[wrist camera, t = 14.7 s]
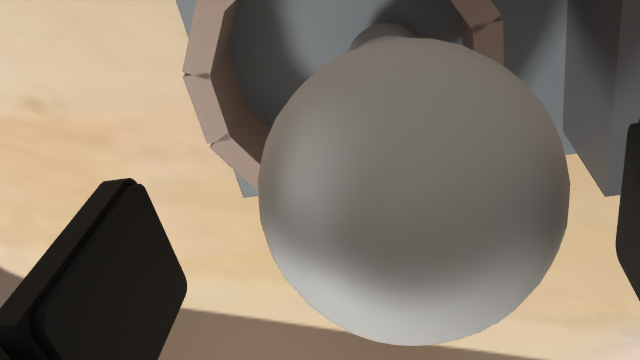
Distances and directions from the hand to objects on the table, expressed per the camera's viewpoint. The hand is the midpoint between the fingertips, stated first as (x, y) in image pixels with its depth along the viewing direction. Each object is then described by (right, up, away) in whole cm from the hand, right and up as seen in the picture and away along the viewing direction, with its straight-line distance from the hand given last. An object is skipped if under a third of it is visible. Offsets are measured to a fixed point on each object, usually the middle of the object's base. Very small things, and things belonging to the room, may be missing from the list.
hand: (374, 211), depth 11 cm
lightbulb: (+1, +5, +7) cm, 9 cm away
